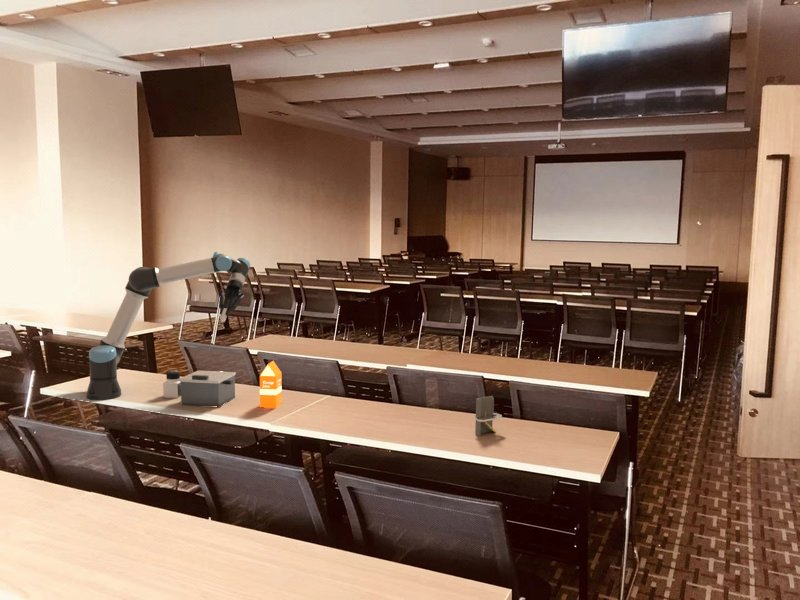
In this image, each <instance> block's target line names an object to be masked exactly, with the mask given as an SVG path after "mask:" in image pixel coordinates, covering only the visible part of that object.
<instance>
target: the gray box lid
mask: <svg viewBox="0 0 800 600" xmlns="http://www.w3.org/2000/svg"><path fill="white" fill-rule="evenodd" d="M236 374H237V372H236V371H219V370H196V371H194V372H191V373H190V374H187V375H184V376H182V377H180V379H179V382H195V383H216V384H219V383H221V382H223V381H225V380H227V379H228V378H230V377H232V376H234V375H235V376H236Z"/></svg>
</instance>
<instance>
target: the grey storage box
mask: <svg viewBox="0 0 800 600" xmlns="http://www.w3.org/2000/svg"><path fill="white" fill-rule="evenodd" d="M233 398H234V399H236V375H234V376H232V377H230V378H228V379H227V380H225V381H223V382H221V383H219V384H216V383H195V382H181V396H180V399H181V400H180V405H181V406H182V407H183V406H185V407H201V406H217V407H216V408H220V407H222V406H223V404H224V403H225V404H227V403H229V402H230V401H232V400H234V399H233ZM231 399H232V400H231ZM229 400H230V401H229ZM228 401H229V402H228ZM226 402H227V403H226ZM225 404H224V405H225ZM221 405H222V406H221ZM219 406H220V407H219Z"/></svg>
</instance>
